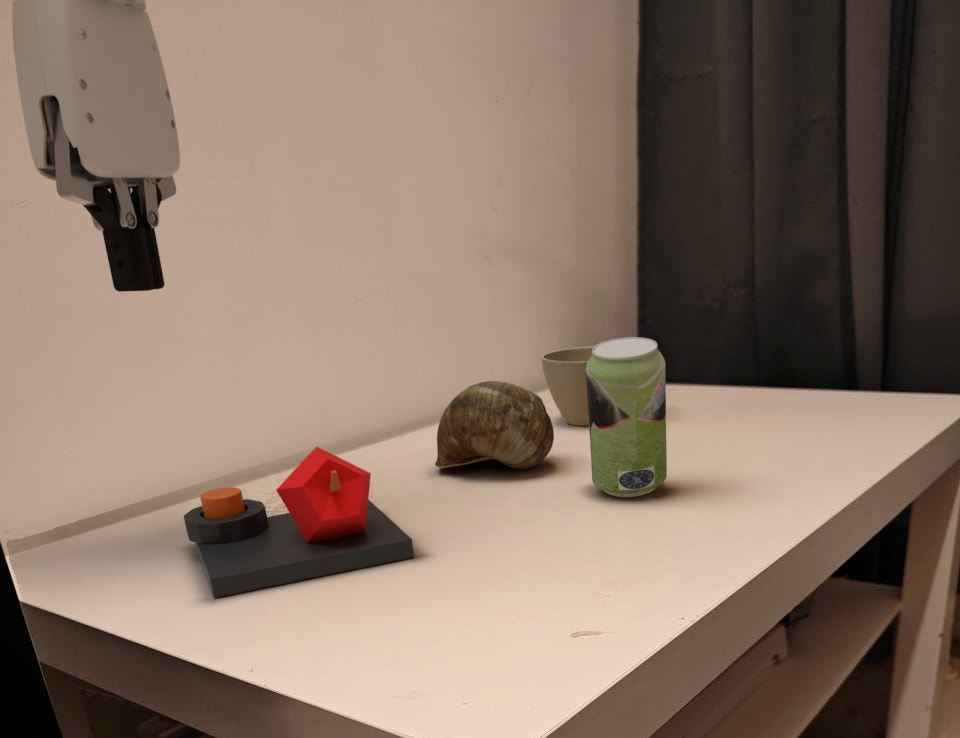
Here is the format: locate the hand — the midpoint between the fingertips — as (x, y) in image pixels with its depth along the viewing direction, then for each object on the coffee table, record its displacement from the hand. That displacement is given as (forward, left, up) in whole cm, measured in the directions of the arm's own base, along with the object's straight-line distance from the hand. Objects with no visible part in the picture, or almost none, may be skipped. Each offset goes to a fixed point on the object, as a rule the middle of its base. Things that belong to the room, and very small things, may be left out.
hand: (139, 289), depth 67 cm
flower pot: (+44, +16, -19) cm, 50 cm away
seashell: (+28, +4, -19) cm, 34 cm away
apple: (+9, -10, -18) cm, 22 cm away
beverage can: (+34, -10, -19) cm, 40 cm away
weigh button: (+2, -5, -16) cm, 17 cm away
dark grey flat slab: (+7, -9, -19) cm, 22 cm away
